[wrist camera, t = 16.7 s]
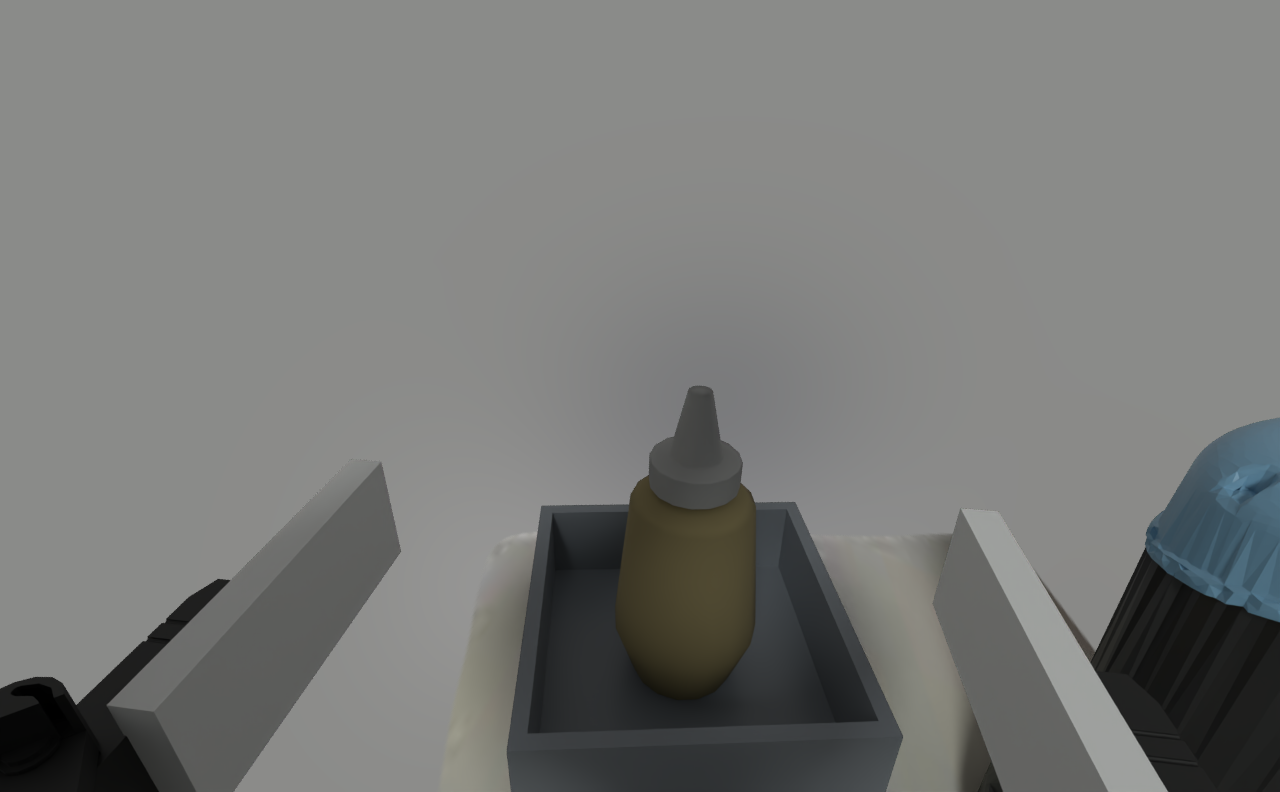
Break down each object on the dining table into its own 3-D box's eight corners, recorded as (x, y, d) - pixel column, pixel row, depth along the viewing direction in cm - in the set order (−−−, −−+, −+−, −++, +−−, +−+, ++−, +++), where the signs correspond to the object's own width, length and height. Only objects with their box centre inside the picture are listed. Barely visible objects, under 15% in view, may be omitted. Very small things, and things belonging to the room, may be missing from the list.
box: (545, 573, 45) (541, 505, 43) (784, 568, 47) (795, 502, 44) (515, 832, 30) (506, 751, 27) (877, 816, 31) (903, 736, 28)
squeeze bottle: (750, 730, 34) (794, 441, 26) (602, 710, 35) (600, 424, 27) (747, 617, 41) (782, 363, 33) (625, 602, 42) (629, 352, 34)
